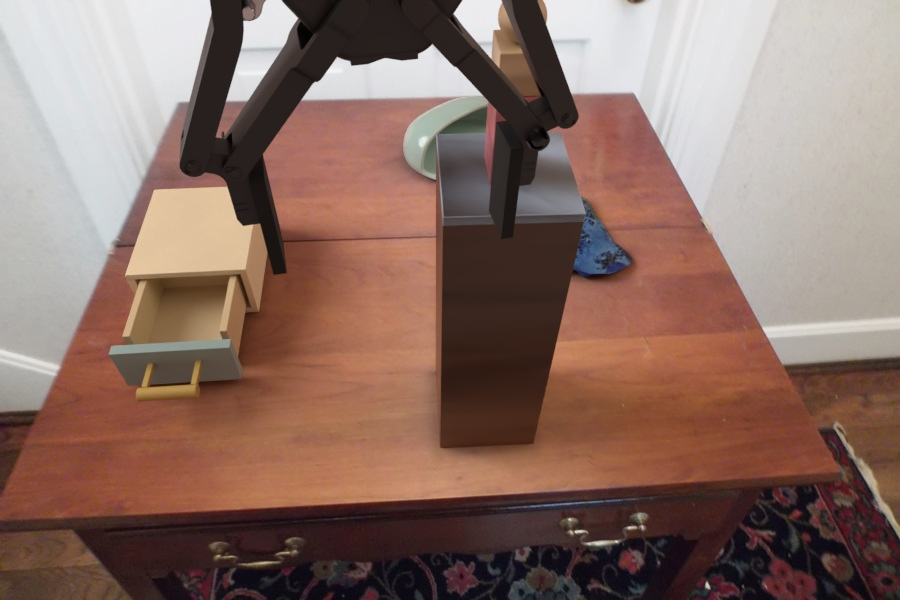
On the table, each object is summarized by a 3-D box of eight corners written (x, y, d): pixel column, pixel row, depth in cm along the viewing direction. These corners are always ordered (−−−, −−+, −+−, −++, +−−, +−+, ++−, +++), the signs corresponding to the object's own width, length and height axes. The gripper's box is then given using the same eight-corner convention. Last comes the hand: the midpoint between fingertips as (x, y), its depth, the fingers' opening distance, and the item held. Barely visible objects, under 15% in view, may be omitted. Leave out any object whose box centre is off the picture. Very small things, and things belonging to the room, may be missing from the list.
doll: (530, 184, 47) (555, 4, 37) (489, 185, 47) (504, 5, 37) (522, 155, 49) (544, -21, 40) (484, 157, 49) (496, -20, 39)
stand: (533, 443, 69) (586, 213, 45) (440, 448, 68) (442, 217, 44) (521, 367, 75) (560, 131, 52) (435, 370, 75) (435, 134, 51)
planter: (465, 68, 107) (540, 108, 99) (464, 108, 112) (535, 148, 104) (377, 111, 98) (452, 158, 90) (380, 151, 103) (451, 199, 95)
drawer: (236, 413, 70) (223, 382, 65) (117, 421, 69) (96, 390, 64) (256, 285, 82) (246, 252, 78) (155, 290, 81) (140, 257, 77)
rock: (575, 192, 97) (577, 181, 95) (645, 266, 87) (648, 256, 85) (489, 220, 93) (490, 210, 91) (551, 302, 83) (553, 292, 81)
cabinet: (259, 312, 80) (245, 269, 75) (146, 318, 79) (124, 275, 74) (271, 228, 91) (260, 185, 85) (171, 232, 90) (154, 189, 84)
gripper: (639, -224, 28) (564, 175, 44) (8, -208, 23) (179, 230, 39) (730, -182, 23) (609, 250, 39) (-44, -151, 19) (175, 322, 34)
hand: (393, 241), depth 39 cm, fingers open, 13 cm apart
